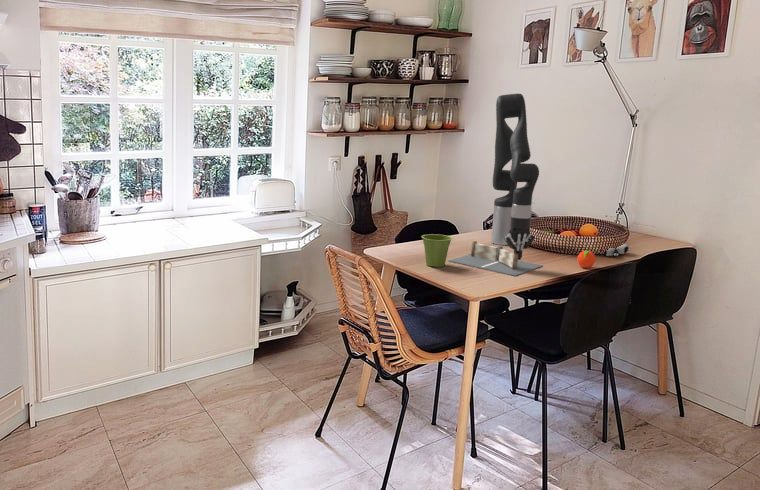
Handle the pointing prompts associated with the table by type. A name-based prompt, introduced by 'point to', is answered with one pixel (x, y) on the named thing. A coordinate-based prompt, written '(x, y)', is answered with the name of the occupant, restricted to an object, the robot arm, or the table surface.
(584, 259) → the clementine
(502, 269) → the card
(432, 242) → the plant pot
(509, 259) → the swinging fence section
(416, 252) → the table surface
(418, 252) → the table surface
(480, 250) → the fixed fence section
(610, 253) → the robot toy
